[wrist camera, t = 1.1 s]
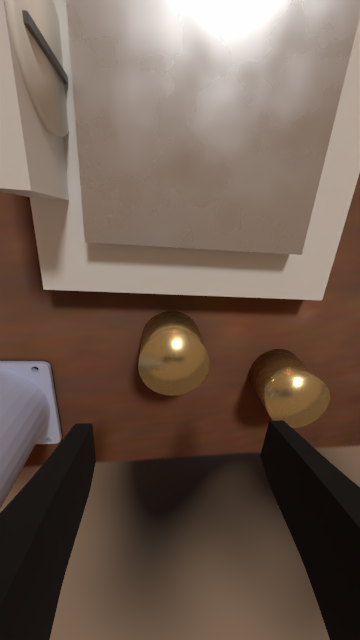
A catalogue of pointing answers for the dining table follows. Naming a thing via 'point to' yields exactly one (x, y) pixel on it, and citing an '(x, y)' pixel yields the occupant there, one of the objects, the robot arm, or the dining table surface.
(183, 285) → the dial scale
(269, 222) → the scale pan
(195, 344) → the brass weight
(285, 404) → the brass weight
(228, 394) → the dining table surface
